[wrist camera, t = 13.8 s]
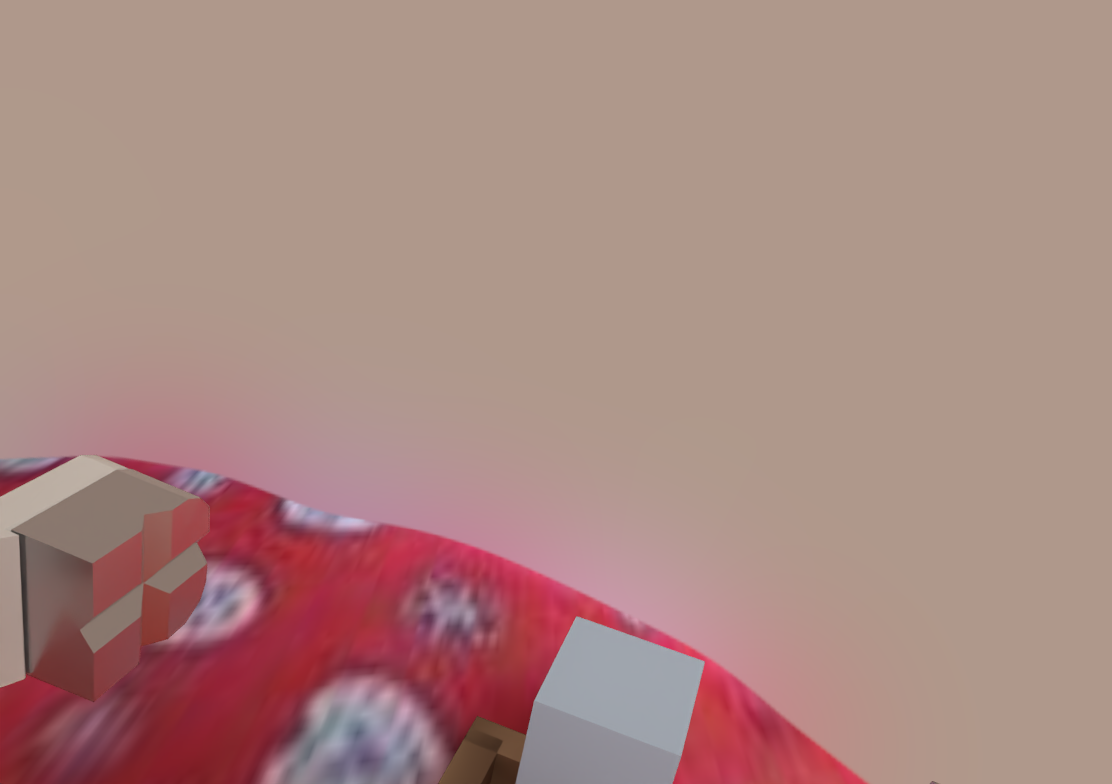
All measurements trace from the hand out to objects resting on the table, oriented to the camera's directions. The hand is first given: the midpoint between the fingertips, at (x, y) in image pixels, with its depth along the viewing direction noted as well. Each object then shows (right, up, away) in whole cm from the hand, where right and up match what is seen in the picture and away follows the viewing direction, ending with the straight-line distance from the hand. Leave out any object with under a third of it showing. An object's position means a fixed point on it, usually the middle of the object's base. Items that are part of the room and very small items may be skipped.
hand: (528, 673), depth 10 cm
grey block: (0, -17, +23) cm, 29 cm away
